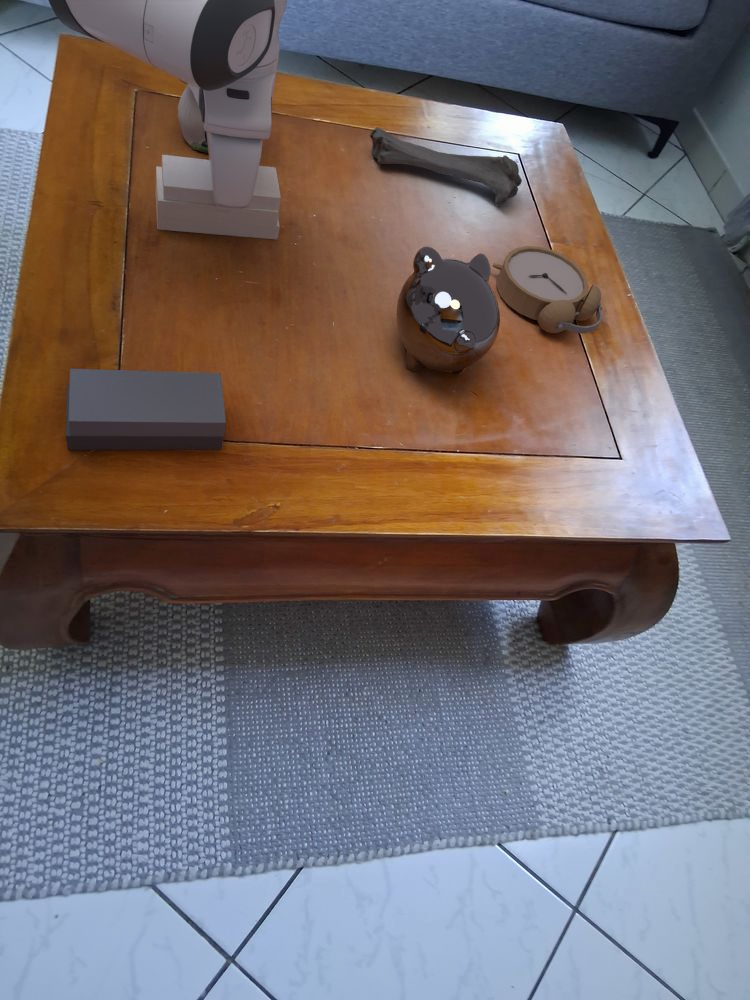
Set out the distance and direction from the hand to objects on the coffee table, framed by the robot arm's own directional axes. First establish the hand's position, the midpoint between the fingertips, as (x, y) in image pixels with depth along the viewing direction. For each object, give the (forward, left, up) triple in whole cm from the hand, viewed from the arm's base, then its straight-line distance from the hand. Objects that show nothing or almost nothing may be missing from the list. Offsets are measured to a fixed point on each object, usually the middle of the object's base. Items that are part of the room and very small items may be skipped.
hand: (220, 187), depth 88 cm
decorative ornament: (0, +15, -4) cm, 16 cm away
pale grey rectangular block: (0, 0, 0) cm, 0 cm away
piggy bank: (+23, -20, -4) cm, 31 cm away
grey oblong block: (0, 0, -4) cm, 4 cm away
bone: (+32, +12, -4) cm, 34 cm away
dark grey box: (-9, -31, -4) cm, 33 cm away
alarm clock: (+41, -11, -4) cm, 43 cm away
